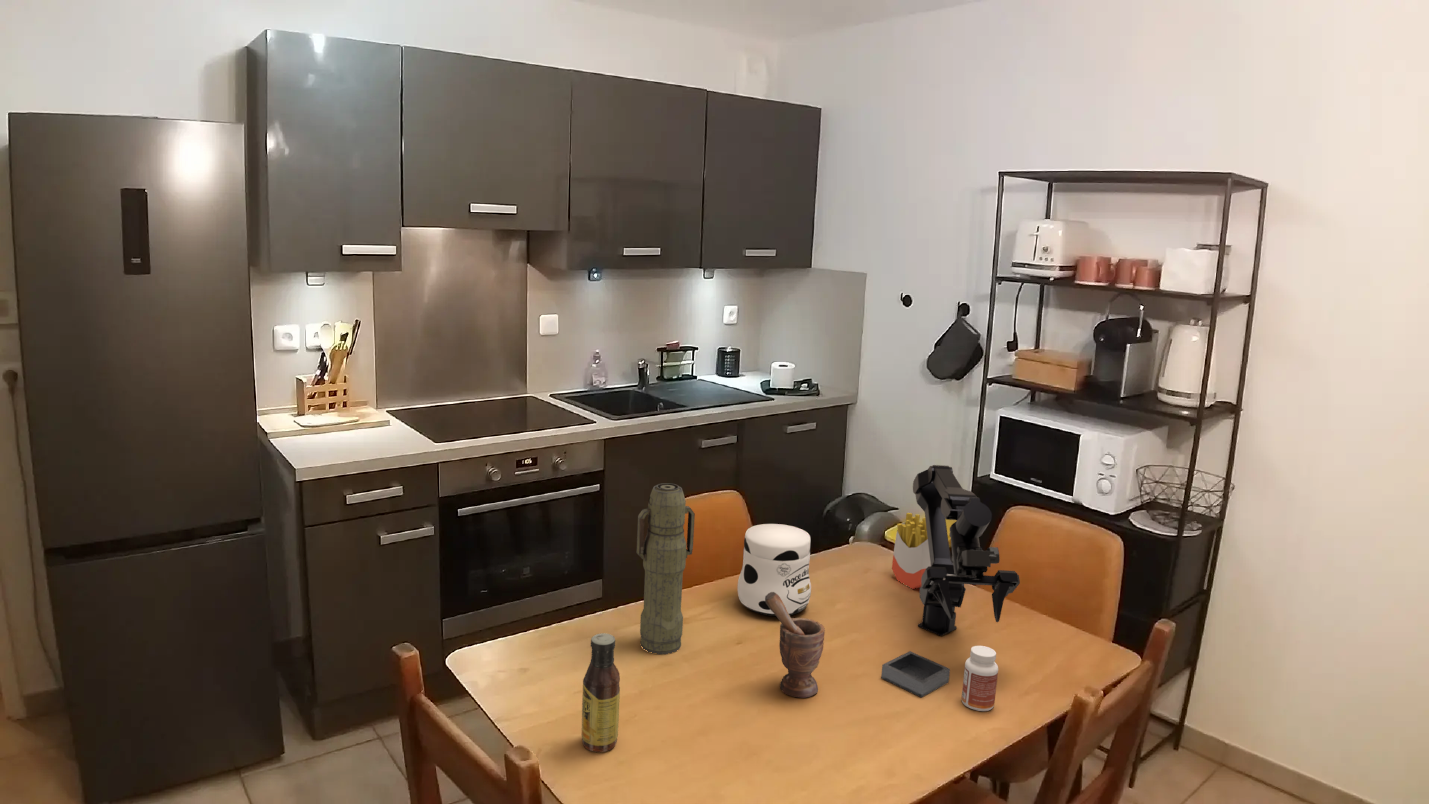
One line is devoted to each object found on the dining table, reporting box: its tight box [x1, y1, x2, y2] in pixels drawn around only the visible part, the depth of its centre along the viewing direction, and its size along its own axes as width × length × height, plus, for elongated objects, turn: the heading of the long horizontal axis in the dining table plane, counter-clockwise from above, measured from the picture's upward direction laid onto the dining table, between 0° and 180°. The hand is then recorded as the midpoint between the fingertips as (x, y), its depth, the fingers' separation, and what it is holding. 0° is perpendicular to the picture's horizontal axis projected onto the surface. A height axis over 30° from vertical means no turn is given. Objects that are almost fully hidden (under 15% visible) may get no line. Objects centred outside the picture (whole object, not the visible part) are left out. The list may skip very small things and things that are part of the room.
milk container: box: [737, 523, 812, 617], centre depth 212 cm, size 17×17×18 cm
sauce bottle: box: [581, 632, 621, 753], centre depth 152 cm, size 7×6×20 cm
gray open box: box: [880, 650, 951, 698], centre depth 182 cm, size 10×10×3 cm
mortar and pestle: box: [765, 592, 826, 698], centre depth 174 cm, size 12×9×20 cm
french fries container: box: [891, 512, 931, 590], centre depth 231 cm, size 5×11×18 cm, turn 29°
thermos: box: [636, 482, 696, 655], centre depth 188 cm, size 9×12×35 cm
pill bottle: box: [961, 645, 999, 712], centre depth 174 cm, size 6×6×11 cm
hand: (974, 620), depth 180 cm, fingers open, 9 cm apart
